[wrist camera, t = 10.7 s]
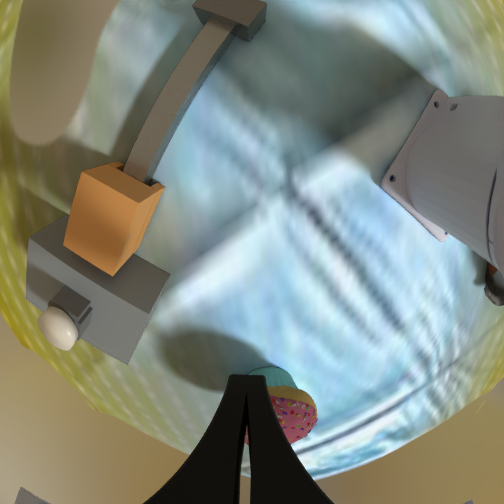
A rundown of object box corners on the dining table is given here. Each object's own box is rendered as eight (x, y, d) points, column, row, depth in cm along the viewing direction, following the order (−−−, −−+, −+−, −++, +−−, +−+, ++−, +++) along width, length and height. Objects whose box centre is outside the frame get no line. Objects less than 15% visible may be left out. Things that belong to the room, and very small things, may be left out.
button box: (66, 213, 18) (10, 246, 12) (170, 274, 20) (139, 333, 14) (56, 269, 20) (12, 309, 14) (146, 324, 22) (119, 382, 16)
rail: (217, 2, 12) (211, -17, 9) (265, 21, 12) (266, 3, 10) (92, 247, 19) (74, 263, 16) (128, 269, 20) (113, 287, 17)
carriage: (117, 161, 16) (81, 171, 12) (165, 186, 17) (138, 203, 13) (96, 222, 18) (63, 245, 14) (138, 247, 19) (112, 276, 15)
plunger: (60, 284, 14) (37, 306, 12) (92, 305, 15) (73, 331, 12) (57, 311, 15) (38, 334, 13) (87, 331, 16) (70, 357, 13)
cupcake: (228, 349, 23) (215, 475, 12) (321, 354, 23) (348, 472, 12) (224, 401, 26) (215, 499, 15) (300, 405, 27) (311, 499, 16)
